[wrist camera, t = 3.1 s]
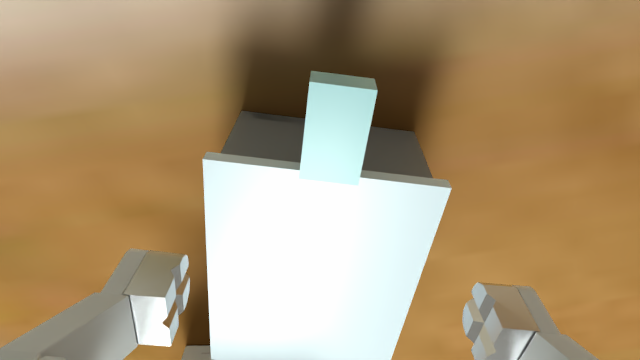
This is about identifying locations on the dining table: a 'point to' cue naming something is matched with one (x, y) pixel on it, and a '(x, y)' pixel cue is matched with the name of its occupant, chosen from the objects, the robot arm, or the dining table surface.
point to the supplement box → (197, 353)
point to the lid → (316, 240)
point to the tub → (287, 140)
